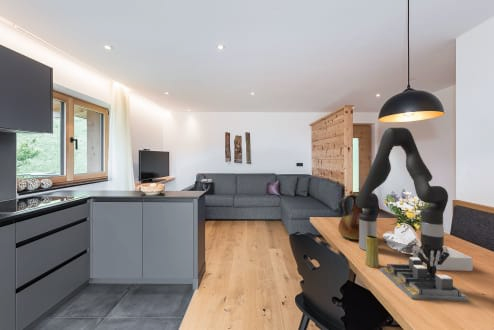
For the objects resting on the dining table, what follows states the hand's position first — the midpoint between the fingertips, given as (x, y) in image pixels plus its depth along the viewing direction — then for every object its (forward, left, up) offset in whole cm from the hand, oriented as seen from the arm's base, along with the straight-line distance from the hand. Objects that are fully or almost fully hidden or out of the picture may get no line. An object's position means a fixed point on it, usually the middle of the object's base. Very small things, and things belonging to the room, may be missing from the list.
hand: (431, 273), depth 95 cm
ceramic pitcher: (-58, -8, -5) cm, 59 cm away
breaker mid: (0, -5, -3) cm, 6 cm away
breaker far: (-8, -1, -3) cm, 9 cm away
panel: (0, -5, -4) cm, 7 cm away
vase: (-17, -16, -5) cm, 24 cm away
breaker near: (+8, -1, -3) cm, 9 cm away
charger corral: (-21, +20, -4) cm, 29 cm away
